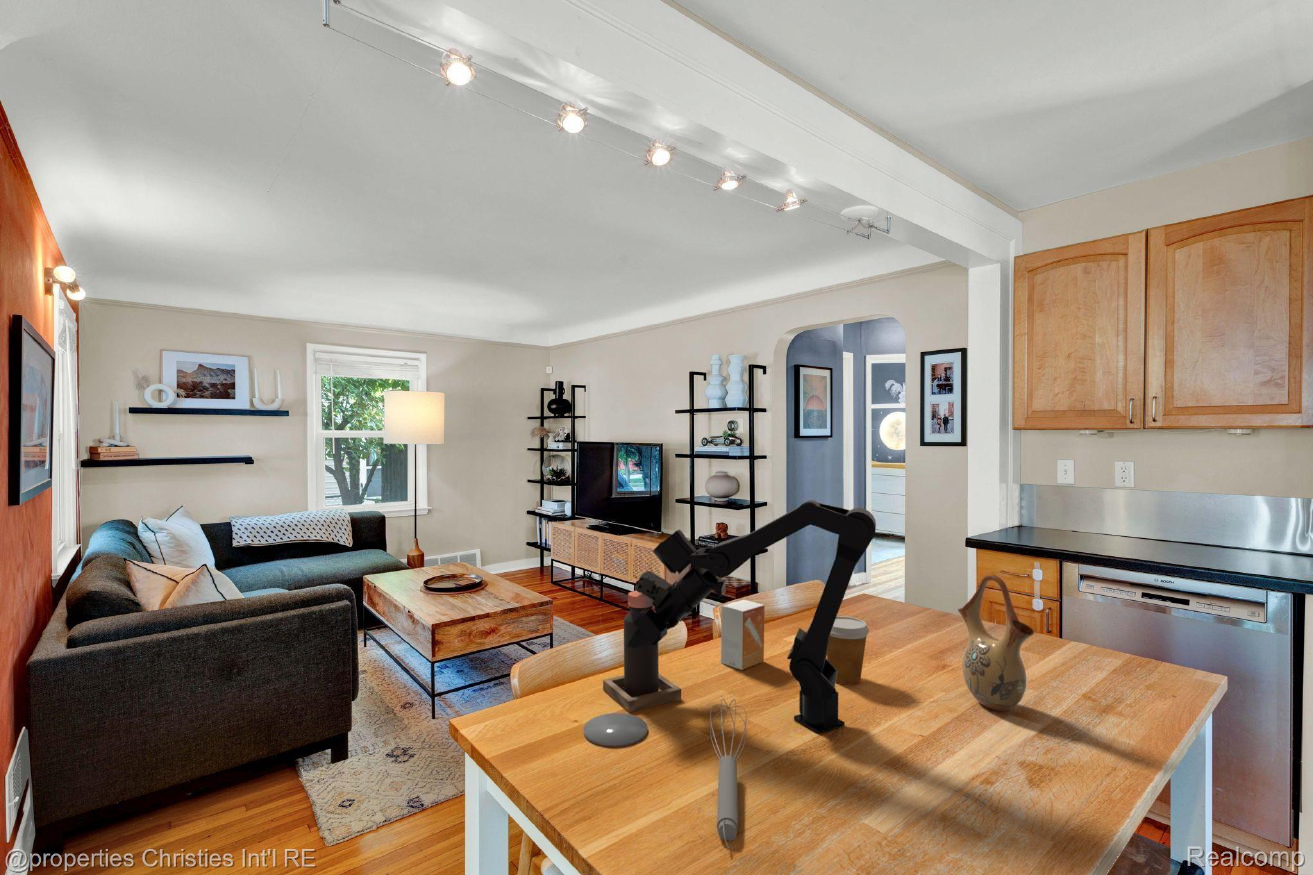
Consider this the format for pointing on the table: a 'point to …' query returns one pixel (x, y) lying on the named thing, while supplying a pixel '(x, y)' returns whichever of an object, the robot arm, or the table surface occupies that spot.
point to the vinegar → (639, 653)
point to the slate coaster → (615, 729)
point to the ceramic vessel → (994, 654)
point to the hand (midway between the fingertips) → (635, 641)
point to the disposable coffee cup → (847, 648)
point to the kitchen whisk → (727, 785)
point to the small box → (742, 634)
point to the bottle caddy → (644, 701)
